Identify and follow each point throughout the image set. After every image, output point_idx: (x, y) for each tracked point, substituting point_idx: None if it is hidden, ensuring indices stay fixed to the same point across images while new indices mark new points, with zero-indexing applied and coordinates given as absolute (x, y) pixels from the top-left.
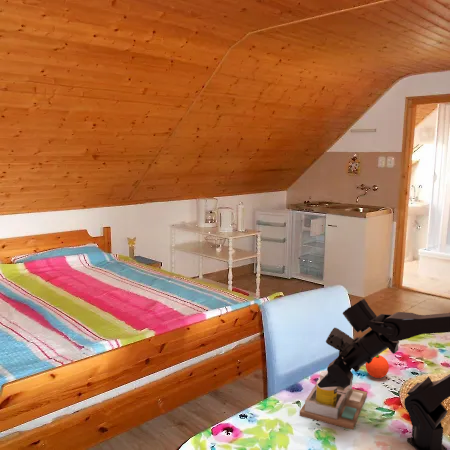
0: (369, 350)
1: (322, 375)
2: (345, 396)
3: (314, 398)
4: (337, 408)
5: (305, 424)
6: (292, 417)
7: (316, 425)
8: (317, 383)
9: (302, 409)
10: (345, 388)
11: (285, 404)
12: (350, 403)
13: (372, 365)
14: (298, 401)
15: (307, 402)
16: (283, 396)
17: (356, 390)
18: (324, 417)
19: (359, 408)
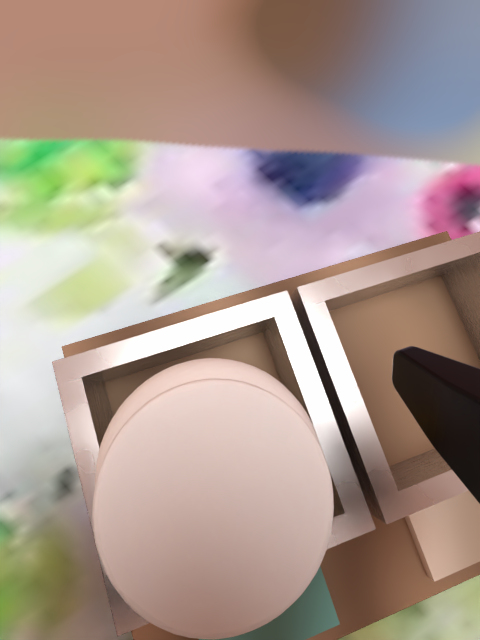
0: None
1: (101, 480)
2: (375, 515)
3: (231, 339)
4: (123, 630)
5: (9, 432)
6: (26, 333)
7: (43, 488)
8: (124, 402)
9: (91, 346)
10: (447, 477)
11: (121, 227)
12: (380, 529)
13: None
14: (200, 259)
15: (58, 381)
16: (185, 174)
17: None
18: None
19: (373, 616)
